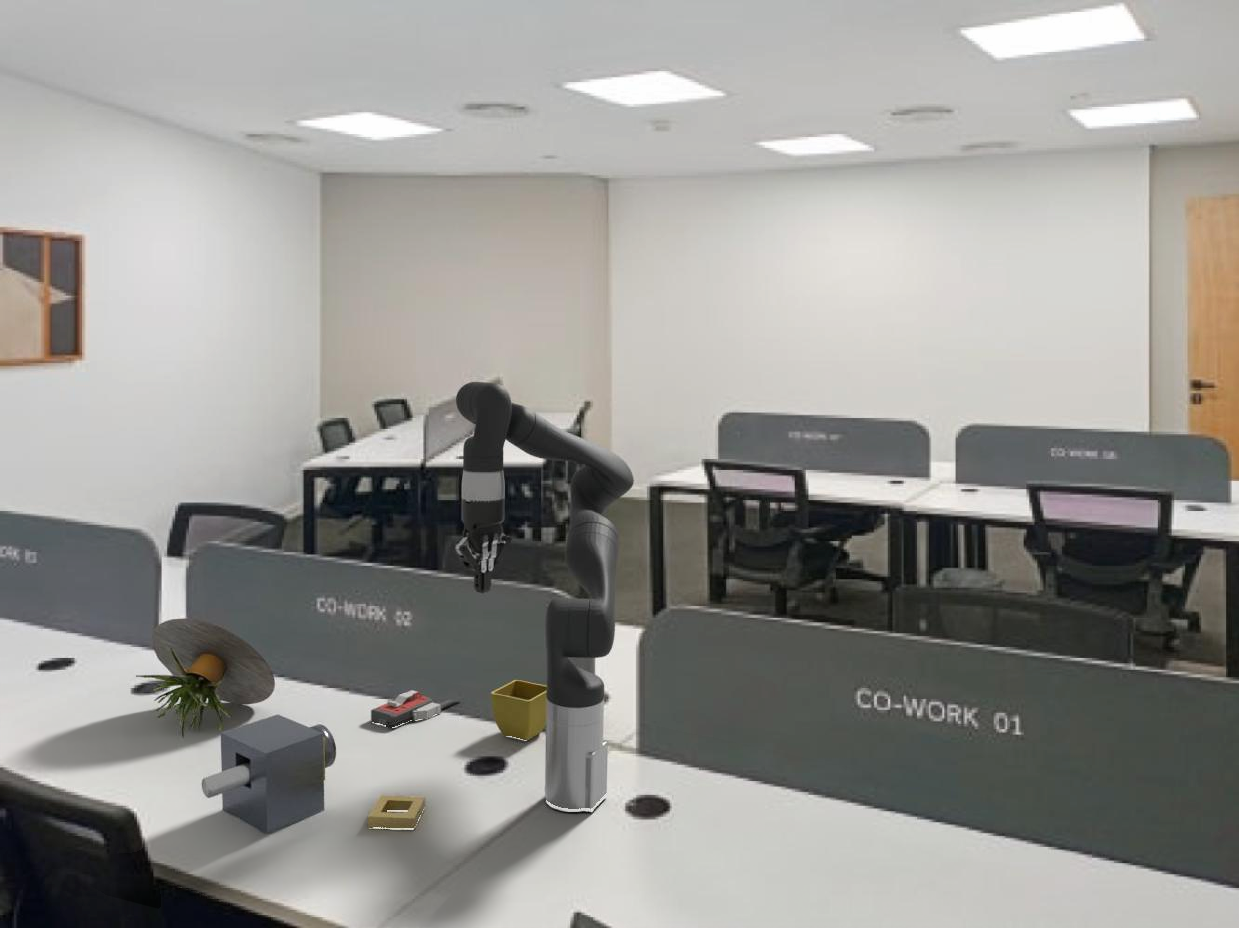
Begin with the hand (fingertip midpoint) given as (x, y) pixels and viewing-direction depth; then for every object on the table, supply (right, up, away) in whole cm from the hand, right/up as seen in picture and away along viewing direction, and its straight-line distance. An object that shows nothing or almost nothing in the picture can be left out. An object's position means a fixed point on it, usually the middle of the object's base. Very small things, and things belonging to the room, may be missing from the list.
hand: (482, 591), depth 175 cm
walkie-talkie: (-16, -27, +20) cm, 37 cm away
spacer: (-10, -32, -24) cm, 41 cm away
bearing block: (-30, -31, -22) cm, 48 cm away
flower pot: (+6, -29, +9) cm, 31 cm away
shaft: (-30, -27, -23) cm, 47 cm away
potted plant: (-55, -27, +13) cm, 63 cm away
